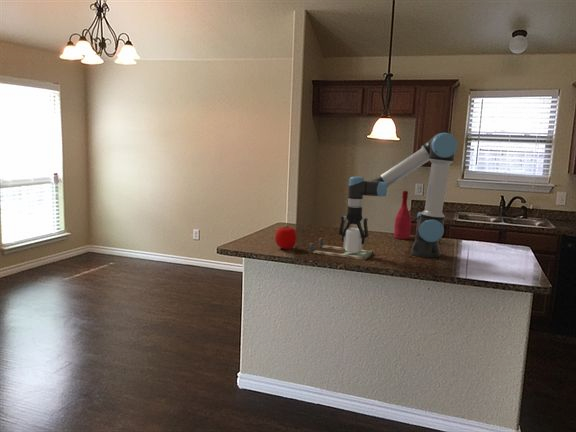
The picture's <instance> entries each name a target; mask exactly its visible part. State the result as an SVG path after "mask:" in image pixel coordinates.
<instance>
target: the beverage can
mask: <svg viewBox="0 0 576 432" xmlns="http://www.w3.org/2000/svg"><path fill="white" fill-rule="evenodd" d="M345 236H346V238H345V250H346V251H347V252H351V253H357V252H359V251H360V250H359V249H360V238H361V234H360V231H359V229H358V227H349V229H347V230H346V235H345ZM346 251H345V252H346Z"/></svg>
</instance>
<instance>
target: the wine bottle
mask: <svg viewBox="0 0 576 432" xmlns="http://www.w3.org/2000/svg"><path fill="white" fill-rule="evenodd" d="M408 194H409V191H408V190H403V191H402V196H401V198H402V202H401V206H400V208H399V210H398V212H397V213H396V216H395V219H394V230H393V231H394V235H393V236H394V237H393V238H395V239H397V240H409V239H410V237H411V229H412V218H411V214H410V211H409V207H408V202H407V201H408V198H409V197H408V196H409V195H408Z"/></svg>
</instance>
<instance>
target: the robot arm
mask: <svg viewBox="0 0 576 432" xmlns="http://www.w3.org/2000/svg"><path fill="white" fill-rule="evenodd" d="M457 150H458V140H457V139H456V137H455V136H454V135H453V134H452V133H449V132H440V133H436V134H435V135H434V136H432V137H431V138H430V139H429V140H428V141H426V142H424V144H423V145H421V148H420V149H418V150H417V151H415V152H414V153H413V154H410V155H409V156H408V157H406V158H404V159H403V160H402V161H400V162H398V163H397V164H396V165H394V166H392V167H391V168H389V169H388V170H386V171H385V172H383V173H382V174H380V175H379V176H377V177H376V178H374V179H371V180H370V181H369V180H365V179H364V177H363V176H351V177H349V180H348V196H347V206H348V207H347V210H346V211H347V215H341V218H340V220H341V222H340V227H339V231H338V235H341V242H342V243H343V248H344V249H345V238H346V230H347V229H349V228H351V225H356V226H357V228H358V229H359V231H360V234H361V238H360V249H359V250H360V251H361V250H363V245H365V239H366V238H368V237H369V230H368V229H369V228H368V218H367V217H364V216H363V204H364V203H363V201H364V196H365V197H366V196H368V197H369V196H370V197H379V198H380V197H386V196H387V192H388V188H389V187H391V186H392V185H393V184H395V183H397V182H398V181H399V180H401V179H403V178H405V177H406V176H407V175H409V174H411V173H412V172H414V171H415V170H417V169H418V168H420V167H421V166H423V165H425V164H426V163H427V162H430V163H431V166H430V171H429V177H428V178H429V179H428V185H427V192H426V198H425V205H424V210H423V211H419V212H418V213H417V215H416V230H415V239H414V242H413V244H412V247H411V251H410V253H411V254H412V255H413V256H416V257H420V258H439V257H441V249H440V248H441V247H440V245H439V240H440V239H441V238H442V237H443V235H444V233H445V227H444V223H445V217H446V216H445V214H444V213H443V208H444V204H445V203H444V202H445V196H446V192H447V191H446V190H447V183H448V177H449V172H450V171H449V170H450V165H451V164H453V163H454V162H455V161H454V159H455V154H456V151H457ZM346 220H347V221H348V222H347V224H346V223H345V222H346ZM361 221H362V222H363V227H362V223H361ZM345 224H346V226H345ZM344 226H345V228H344Z"/></svg>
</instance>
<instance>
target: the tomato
mask: <svg viewBox="0 0 576 432" xmlns="http://www.w3.org/2000/svg"><path fill="white" fill-rule="evenodd" d="M274 240H275V243H276V245H277V246H278V247H279V248H281V249H285V250H291V249H293V248H294V246H295V245H296V243H297V232H296V230H295V229H294V228H293V227H291V226H288V225H286V226H282V227H279V228H278V229H277V230H276V231H275V234H274Z"/></svg>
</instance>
